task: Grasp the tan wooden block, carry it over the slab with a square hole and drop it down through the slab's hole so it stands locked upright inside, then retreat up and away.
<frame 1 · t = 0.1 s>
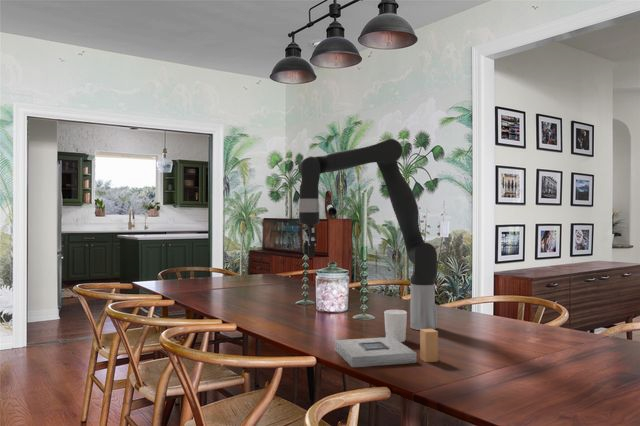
hand: (309, 255, 187), 29 cm above the table, fingers open, 8 cm apart
slab with square hole: (373, 355, 159), on the table
white cup: (395, 340, 179), on the table
tan wooden block: (429, 359, 155), on the table
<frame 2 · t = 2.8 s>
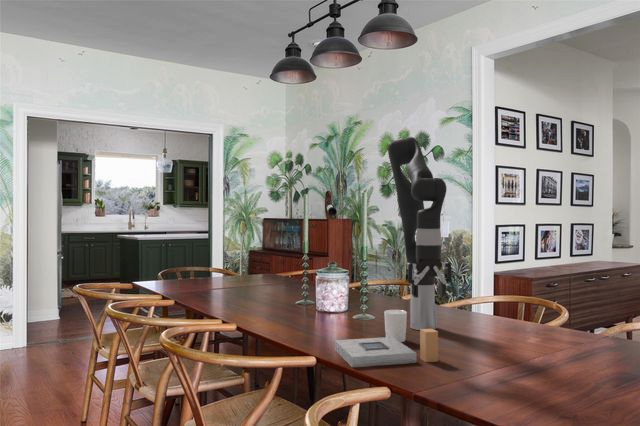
hand: (428, 296, 155), 19 cm above the table, fingers open, 8 cm apart
nothing on the table moved.
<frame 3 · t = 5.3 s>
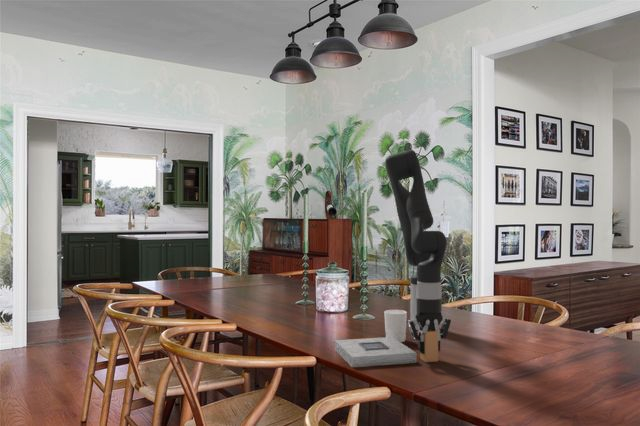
hand: (429, 352, 155), 2 cm above the table, fingers closed on tan wooden block, 4 cm apart
tan wooden block: (429, 359, 155), on the table, touching gripper
everything else where it was.
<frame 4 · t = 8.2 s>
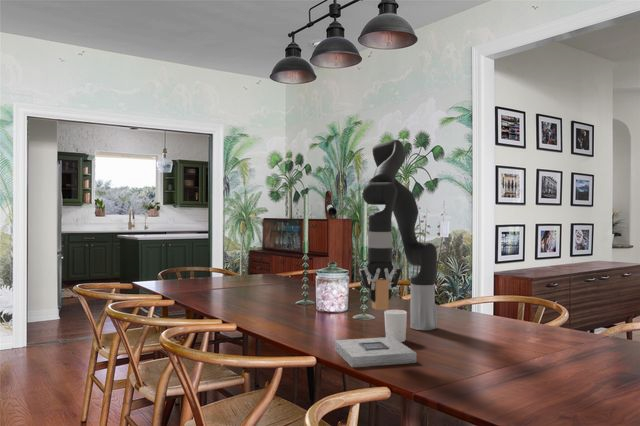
hand: (379, 300, 159), 17 cm above the table, fingers closed on tan wooden block, 4 cm apart
tan wooden block: (380, 308, 159), point 15 cm above the table, touching gripper
everything else where it was.
when the fingers open (4 cm above the table, at t = 11.2 s): tan wooden block drops 2 cm, resting in slab with square hole.
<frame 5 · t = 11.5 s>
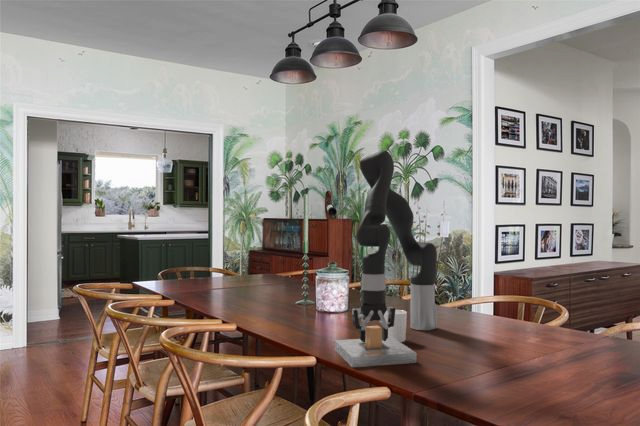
hand: (373, 341, 159), 5 cm above the table, fingers open, 6 cm apart
tan wooden block: (373, 355, 159), resting in slab with square hole
everything else where it was.
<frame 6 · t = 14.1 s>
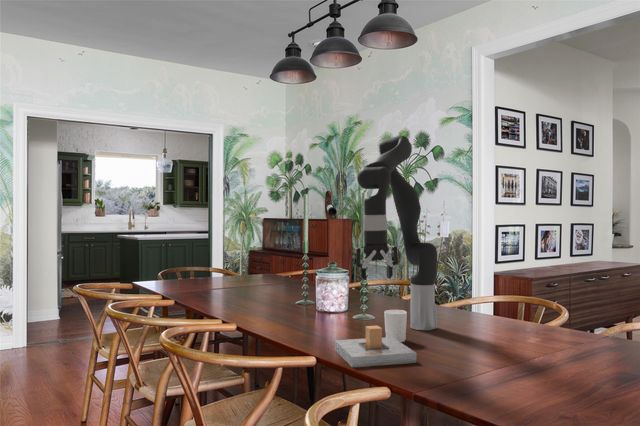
hand: (376, 279, 164), 23 cm above the table, fingers open, 8 cm apart
nothing on the table moved.
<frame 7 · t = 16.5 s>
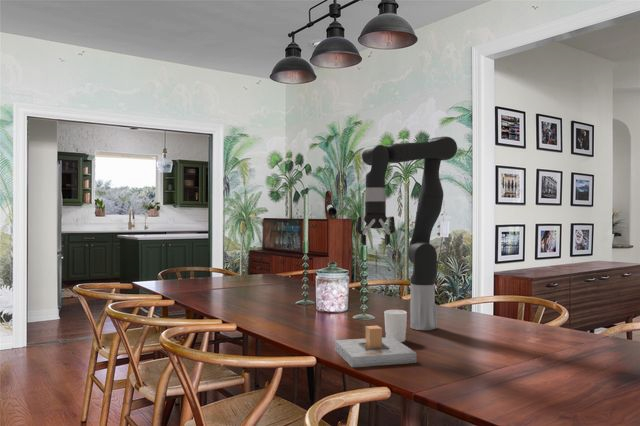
hand: (375, 245, 185), 33 cm above the table, fingers open, 8 cm apart
nothing on the table moved.
at the end: tan wooden block 0.0 cm off-centre on the slab with square hole, point 0.0 cm above the slab with square hole's base; tan wooden block tilted 0°; the gripper is holding nothing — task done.
